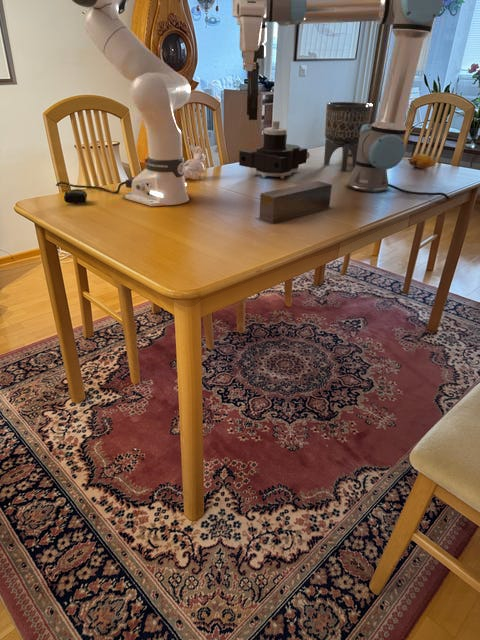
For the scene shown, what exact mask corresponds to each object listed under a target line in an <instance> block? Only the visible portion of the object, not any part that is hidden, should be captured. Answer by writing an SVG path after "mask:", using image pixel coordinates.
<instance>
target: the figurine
mask: <svg viewBox="0 0 480 640" xmlns="http://www.w3.org/2000/svg"><path fill="white" fill-rule="evenodd" d="M189 149H190V151H191V152H192V154H193V159H191V158H190V159H187V160H186V161H185V162H184V167H185V168H184V178H186V179H187V178H188V179H190V180H200V178H199V176H200V175H201V174H204V173H205V171H206V169H205V165H204V162H205V159H206V154H204V153H203V149H202V147H200V146H199V145H197V144H196V146H195V145H193V144H191V145H189Z"/></svg>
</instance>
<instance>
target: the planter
mask: <svg viewBox="0 0 480 640" xmlns="http://www.w3.org/2000/svg"><path fill="white" fill-rule="evenodd" d="M373 107H374V106H373V104H372V103H367V102H353V101H333V102H327V103H326V109H325V124H324V125H325V126H324V139H325V144H324V156H323V157H324V158H323V165H325V166H328V165H330V163H331V158H332V156H333V154H334V153H335V151H336V150H337V149H340V148H341V150H342V153H341V166H340V170H341V172H345V171H347V167H348V166H347V165H348V159H349V155H348V152H349V150H350V151H351V153H352V155H351V157H352V158H351V159H352V160H351V161H352V166H353V167H355V165H356V158H357V151H358V144H359V137H360V135H359V133H360V130H361V127H362V126H363V125H365V124H370V121H371V116H372V112H373Z"/></svg>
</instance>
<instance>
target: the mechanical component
mask: <svg viewBox="0 0 480 640" xmlns="http://www.w3.org/2000/svg"><path fill="white" fill-rule="evenodd" d="M287 138H288V129H287V128H286V127H280V121H279V120H272V126H271V127H265V128H264V129H263V145H262V146H258V147H257V148H256V151H250V150H245V149H241V150H239V153H238V154H239V155H238V157H239V159H238V166H240V167H245V168H250V169H255V173H256V174H257V175H261V177H262V178H267V177H279V178H280V179H285V176H291V175H292V173H298V171H299V167H300V165H303V164H304V165H305V164H307V160H309V158H310V156H311V154H310V152H309V151H308V148H304V147H301V146H299V145H297V144H290V143H287Z"/></svg>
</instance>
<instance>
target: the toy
mask: <svg viewBox="0 0 480 640" xmlns="http://www.w3.org/2000/svg"><path fill="white" fill-rule="evenodd" d="M407 161H409V162H408V163H409V165H410V166H415V167H418V168H420V169H428V168H432V167H434V166H435V165H436V164H437V163H436V160H434V159H432V158H431V157H430V156H429V155H428V154H425V153H420V154H416V155H413V156H411V157H410V158H408V159H407Z"/></svg>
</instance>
